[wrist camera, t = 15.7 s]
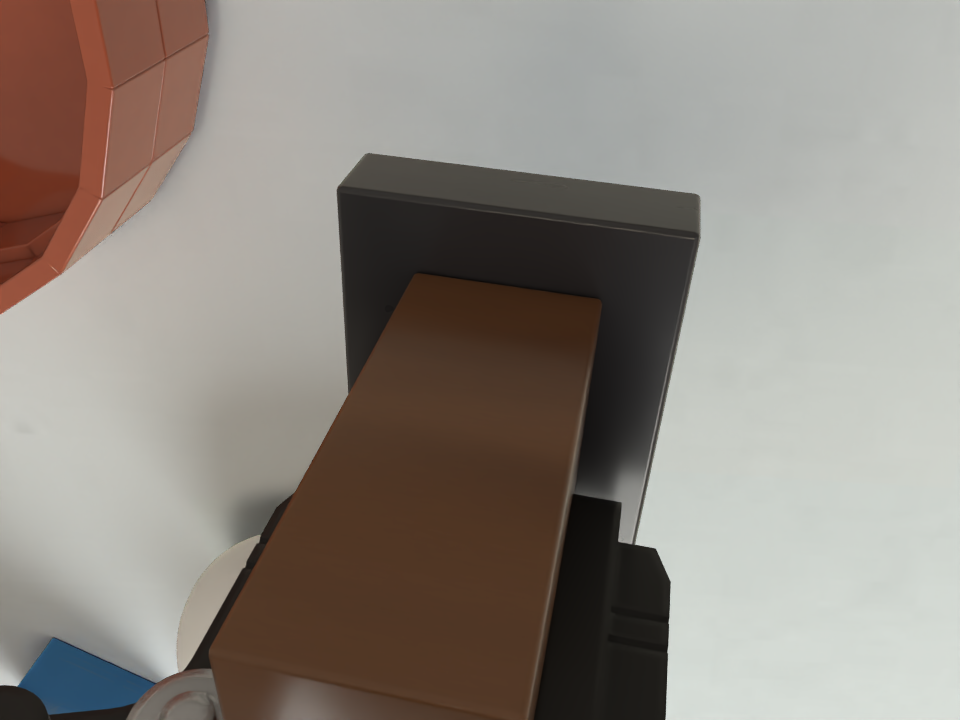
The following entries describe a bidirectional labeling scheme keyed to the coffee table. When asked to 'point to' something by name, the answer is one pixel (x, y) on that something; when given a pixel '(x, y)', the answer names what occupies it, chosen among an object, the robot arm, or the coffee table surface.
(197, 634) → the mug
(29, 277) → the bowl
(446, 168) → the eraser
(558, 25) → the coffee table surface
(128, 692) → the perfume bottle
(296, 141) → the coffee table surface
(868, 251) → the coffee table surface
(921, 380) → the coffee table surface
